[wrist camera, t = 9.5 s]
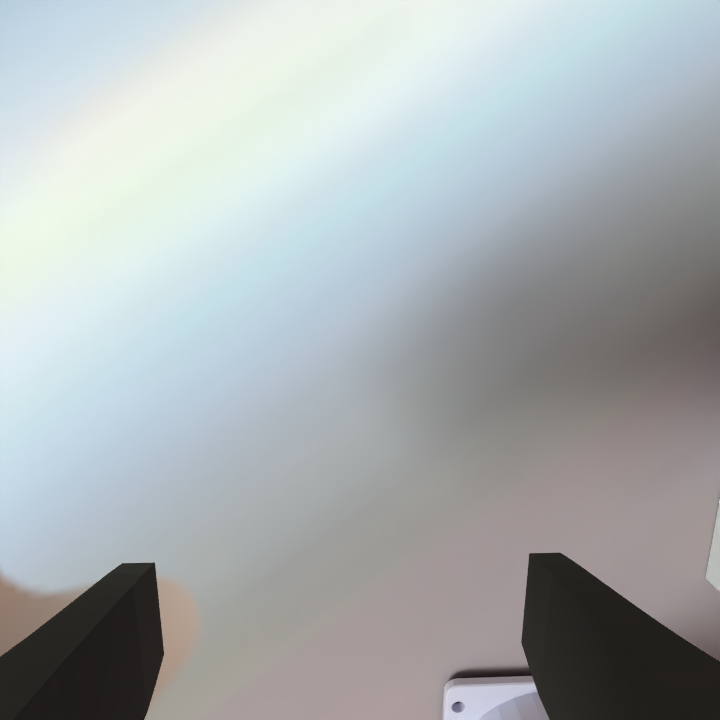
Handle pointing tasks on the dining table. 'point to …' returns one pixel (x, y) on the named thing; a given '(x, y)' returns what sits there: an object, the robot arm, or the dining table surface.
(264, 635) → the dining table surface
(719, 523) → the socket plate
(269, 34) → the dining table surface
